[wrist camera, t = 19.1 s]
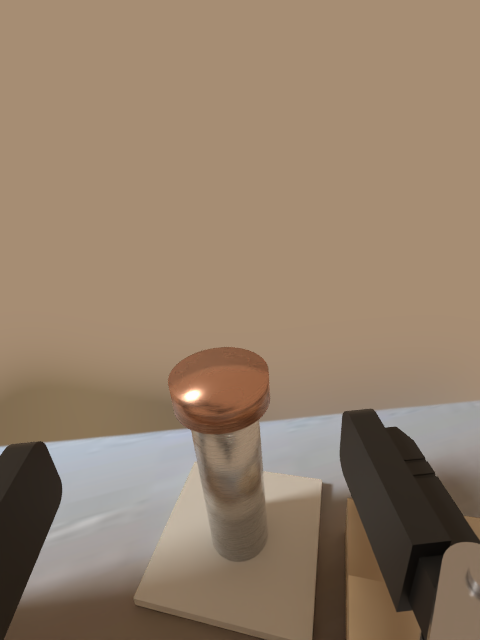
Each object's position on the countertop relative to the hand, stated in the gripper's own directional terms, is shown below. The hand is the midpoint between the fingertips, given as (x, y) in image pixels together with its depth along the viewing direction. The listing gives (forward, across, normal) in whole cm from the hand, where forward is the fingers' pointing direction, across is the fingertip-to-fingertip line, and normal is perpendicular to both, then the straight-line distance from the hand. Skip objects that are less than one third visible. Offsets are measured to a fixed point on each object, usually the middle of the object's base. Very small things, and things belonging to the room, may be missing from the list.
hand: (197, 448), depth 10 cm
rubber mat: (+10, 0, +21) cm, 23 cm away
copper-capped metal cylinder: (+10, 0, +20) cm, 23 cm away
